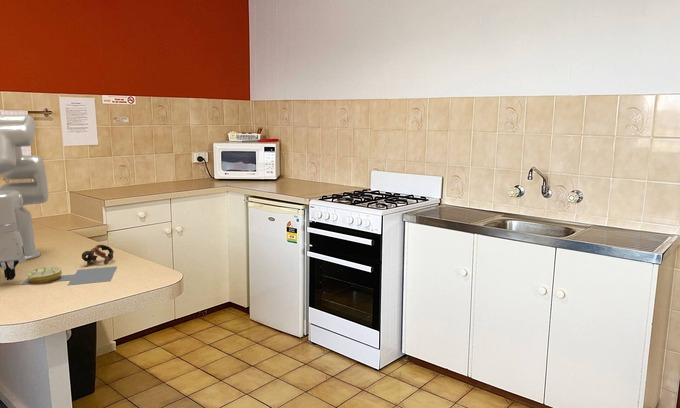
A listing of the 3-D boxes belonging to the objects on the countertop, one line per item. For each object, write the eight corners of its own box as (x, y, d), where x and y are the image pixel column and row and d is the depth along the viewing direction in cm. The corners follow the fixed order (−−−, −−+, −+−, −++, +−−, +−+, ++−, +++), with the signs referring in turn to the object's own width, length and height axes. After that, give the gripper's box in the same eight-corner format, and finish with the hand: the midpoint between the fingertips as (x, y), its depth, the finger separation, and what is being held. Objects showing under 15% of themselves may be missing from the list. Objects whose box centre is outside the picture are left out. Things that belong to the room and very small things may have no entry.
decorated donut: (31, 277, 194) (30, 267, 194) (63, 273, 198) (62, 264, 197) (25, 285, 185) (24, 275, 184) (60, 281, 188) (59, 271, 188)
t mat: (15, 290, 180) (15, 290, 180) (31, 274, 198) (31, 273, 198) (110, 281, 189) (110, 280, 189) (117, 266, 207) (117, 266, 207)
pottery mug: (100, 259, 219) (108, 242, 218) (112, 272, 215) (120, 255, 213) (73, 259, 209) (81, 241, 207) (85, 273, 204) (93, 255, 203)
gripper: (-25, 232, 179) (-18, 284, 182) (24, 229, 183) (31, 280, 186) (-17, 228, 186) (-10, 278, 189) (31, 225, 190) (36, 274, 194)
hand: (10, 279), depth 188 cm, fingers closed
